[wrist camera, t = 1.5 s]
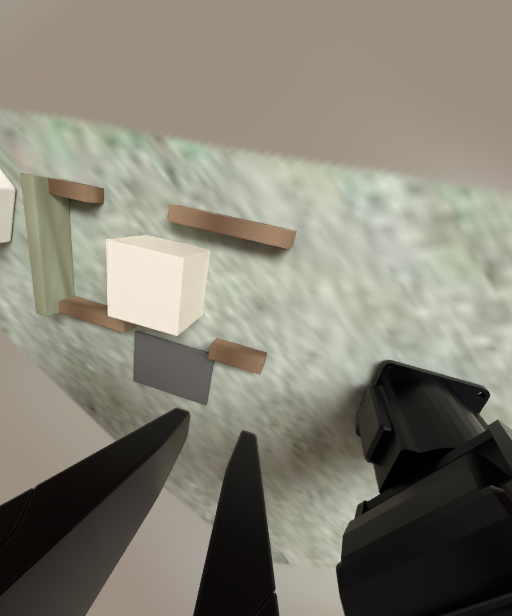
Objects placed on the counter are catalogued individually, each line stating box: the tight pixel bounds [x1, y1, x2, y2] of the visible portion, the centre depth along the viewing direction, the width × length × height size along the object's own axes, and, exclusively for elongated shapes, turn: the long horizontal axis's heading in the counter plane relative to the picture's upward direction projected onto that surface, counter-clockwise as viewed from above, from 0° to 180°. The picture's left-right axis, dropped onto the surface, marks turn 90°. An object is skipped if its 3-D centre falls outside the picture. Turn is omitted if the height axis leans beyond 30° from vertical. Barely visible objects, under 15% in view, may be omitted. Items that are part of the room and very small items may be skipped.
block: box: [106, 235, 210, 336], centre depth 18 cm, size 5×5×4 cm
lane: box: [20, 173, 296, 374], centre depth 19 cm, size 18×10×2 cm, turn 78°
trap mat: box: [134, 331, 214, 405], centre depth 22 cm, size 7×5×1 cm
